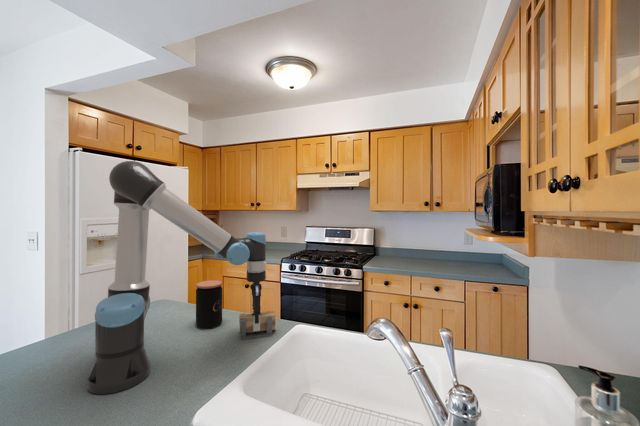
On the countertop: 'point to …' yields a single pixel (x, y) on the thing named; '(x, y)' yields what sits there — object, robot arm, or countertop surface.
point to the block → (262, 321)
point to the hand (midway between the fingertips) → (256, 328)
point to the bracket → (256, 334)
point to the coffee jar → (208, 304)
